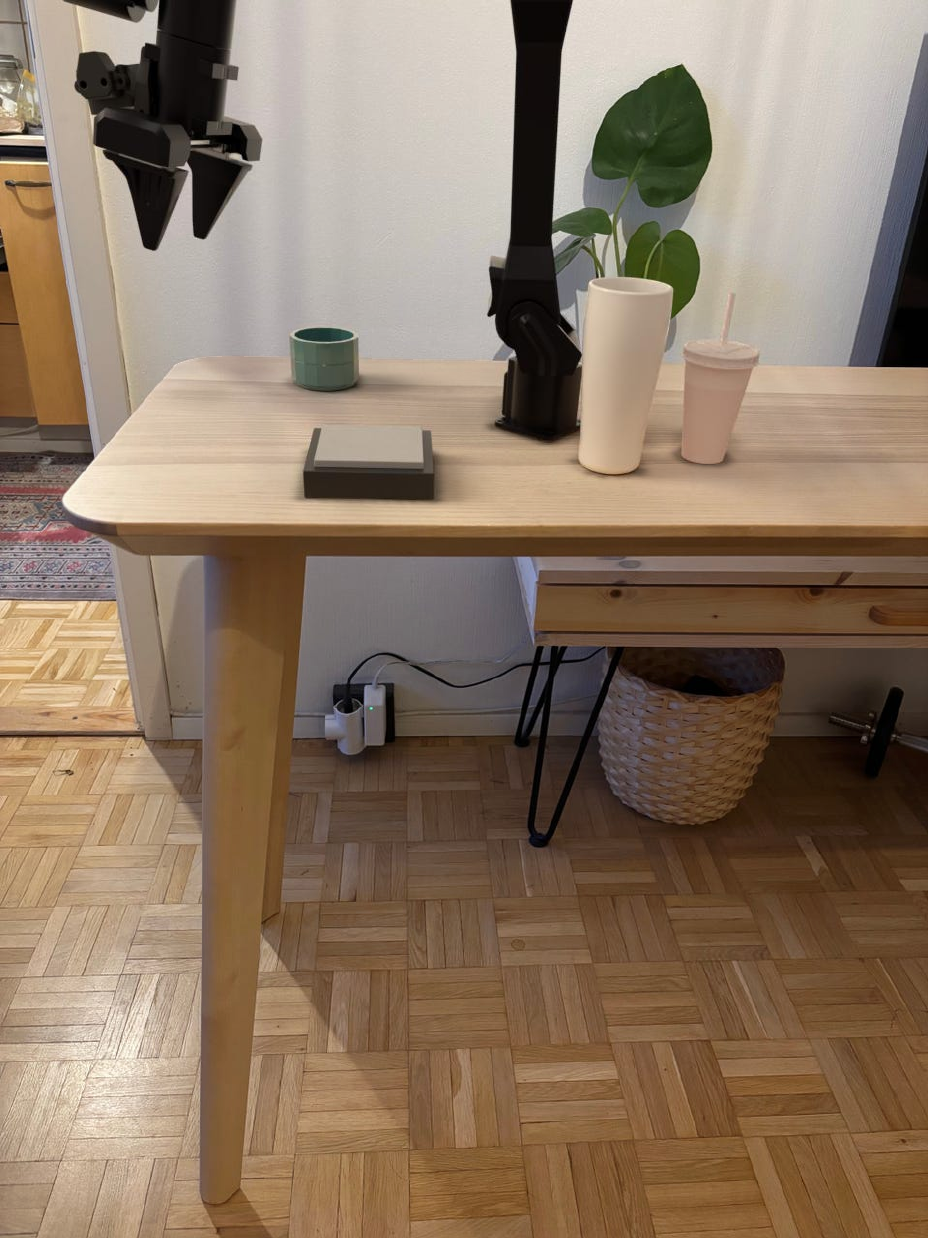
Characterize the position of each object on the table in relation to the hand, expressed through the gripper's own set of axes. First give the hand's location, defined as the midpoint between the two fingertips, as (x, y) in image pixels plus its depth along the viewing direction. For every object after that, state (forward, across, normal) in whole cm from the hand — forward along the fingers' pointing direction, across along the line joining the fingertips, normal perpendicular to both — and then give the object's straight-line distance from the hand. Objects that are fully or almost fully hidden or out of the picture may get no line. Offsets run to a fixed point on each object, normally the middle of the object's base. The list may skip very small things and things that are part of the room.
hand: (176, 243), depth 81 cm
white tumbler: (+6, +2, +42) cm, 43 cm away
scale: (+10, +11, +24) cm, 28 cm away
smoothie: (+5, -2, +50) cm, 50 cm away
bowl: (+12, -13, +12) cm, 21 cm away
